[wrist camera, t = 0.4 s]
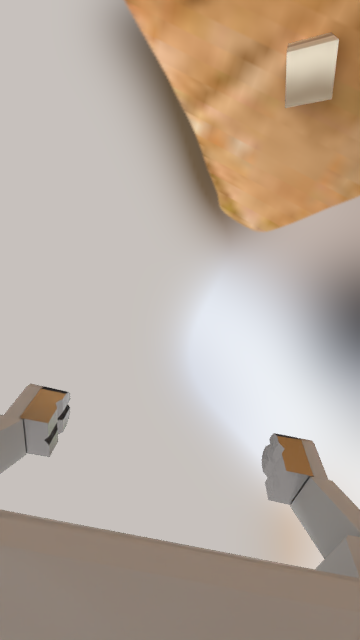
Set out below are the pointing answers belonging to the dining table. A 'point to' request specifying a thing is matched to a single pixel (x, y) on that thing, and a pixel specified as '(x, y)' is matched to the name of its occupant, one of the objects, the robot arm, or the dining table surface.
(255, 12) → the dining table surface
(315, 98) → the birch block
